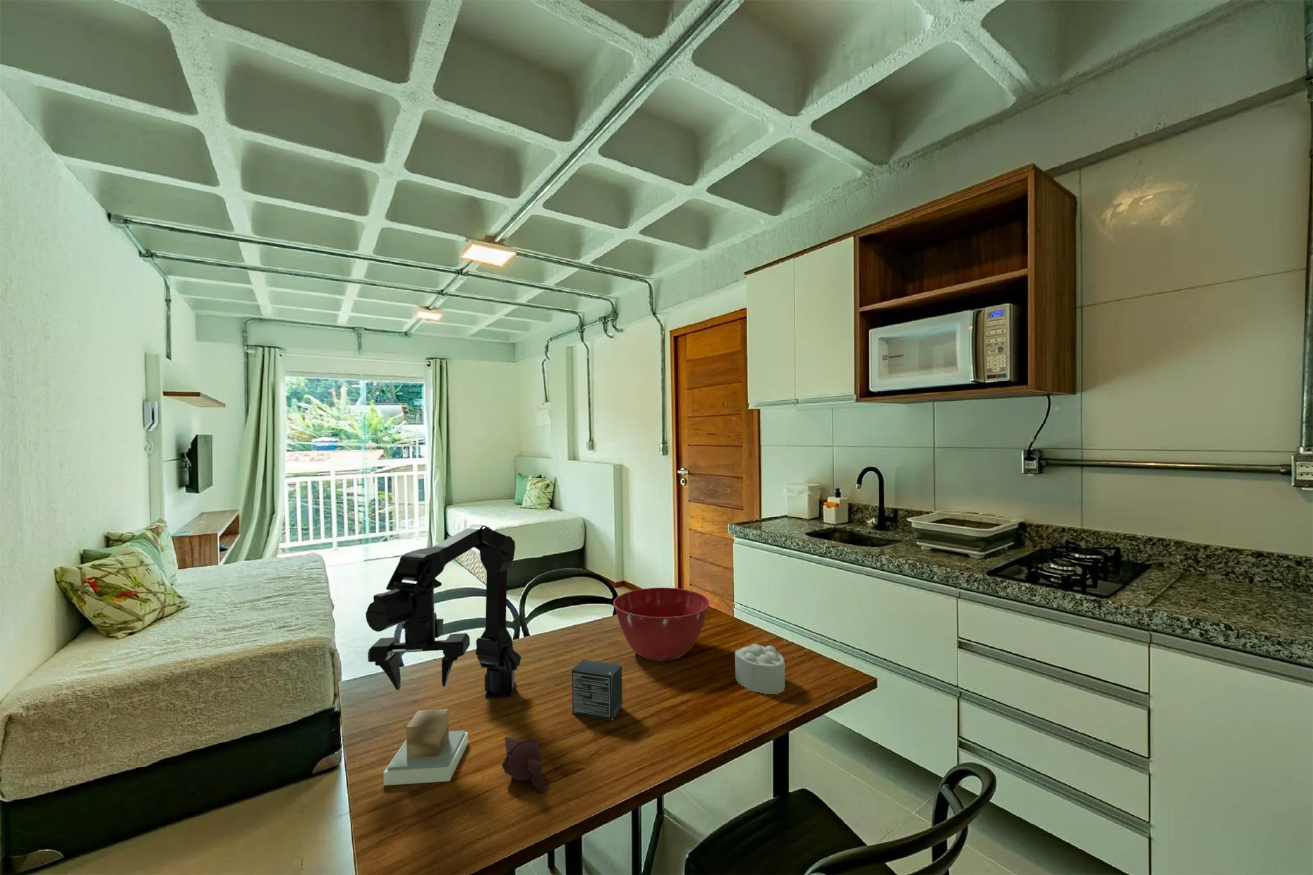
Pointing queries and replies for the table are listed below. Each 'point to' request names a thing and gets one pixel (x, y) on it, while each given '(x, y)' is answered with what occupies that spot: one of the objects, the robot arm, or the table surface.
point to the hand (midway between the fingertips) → (421, 687)
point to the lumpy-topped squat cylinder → (760, 669)
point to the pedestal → (427, 763)
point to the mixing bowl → (661, 621)
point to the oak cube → (427, 733)
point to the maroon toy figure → (524, 761)
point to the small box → (597, 689)
